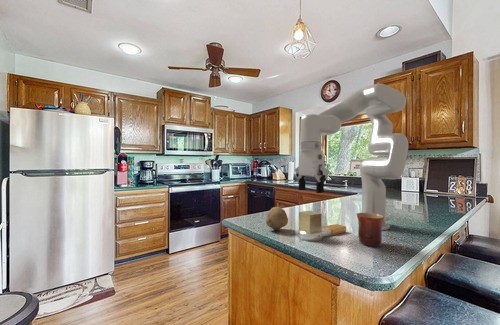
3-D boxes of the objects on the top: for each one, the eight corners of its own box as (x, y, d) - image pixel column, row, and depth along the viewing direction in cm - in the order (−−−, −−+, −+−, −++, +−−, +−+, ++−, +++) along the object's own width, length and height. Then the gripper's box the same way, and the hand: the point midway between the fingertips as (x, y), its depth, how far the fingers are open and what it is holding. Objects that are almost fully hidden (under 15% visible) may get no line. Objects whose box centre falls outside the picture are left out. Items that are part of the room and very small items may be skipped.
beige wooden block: (310, 227, 90) (310, 210, 90) (321, 231, 84) (321, 213, 84) (298, 229, 87) (298, 211, 87) (309, 234, 81) (309, 215, 82)
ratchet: (333, 228, 98) (333, 213, 98) (350, 233, 90) (350, 217, 90) (293, 235, 87) (293, 219, 87) (309, 242, 79) (309, 224, 79)
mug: (357, 238, 85) (357, 211, 85) (384, 242, 80) (384, 214, 80) (353, 248, 75) (353, 217, 75) (383, 254, 70) (383, 221, 70)
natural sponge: (292, 230, 94) (292, 207, 94) (278, 235, 88) (278, 210, 88) (276, 226, 100) (276, 204, 100) (262, 229, 95) (262, 206, 95)
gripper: (335, 146, 80) (335, 193, 80) (302, 148, 95) (302, 188, 95) (320, 145, 76) (320, 194, 76) (288, 148, 92) (288, 189, 91)
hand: (310, 191), depth 86 cm, fingers open, 9 cm apart
